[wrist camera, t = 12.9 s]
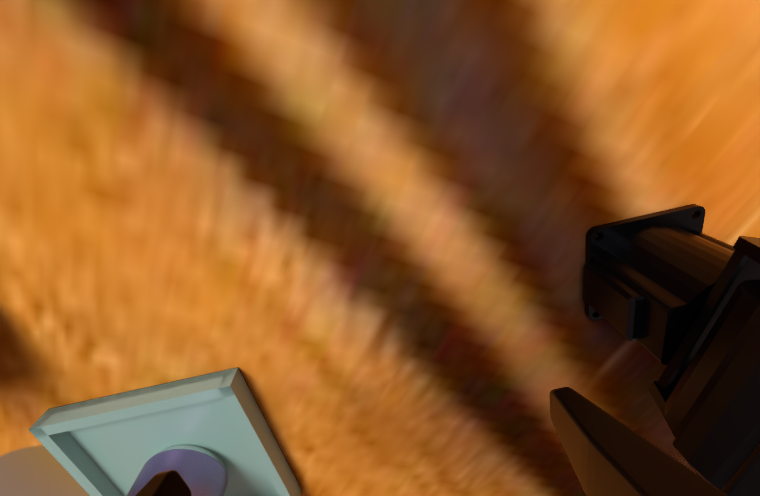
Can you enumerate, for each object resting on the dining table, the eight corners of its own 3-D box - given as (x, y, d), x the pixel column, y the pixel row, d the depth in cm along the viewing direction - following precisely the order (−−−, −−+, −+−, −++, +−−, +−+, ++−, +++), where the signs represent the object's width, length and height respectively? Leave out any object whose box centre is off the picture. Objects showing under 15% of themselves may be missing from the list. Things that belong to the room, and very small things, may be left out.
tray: (237, 367, 24) (229, 385, 22) (301, 490, 29) (298, 511, 28) (48, 409, 24) (28, 429, 23) (146, 521, 30) (135, 544, 28)
